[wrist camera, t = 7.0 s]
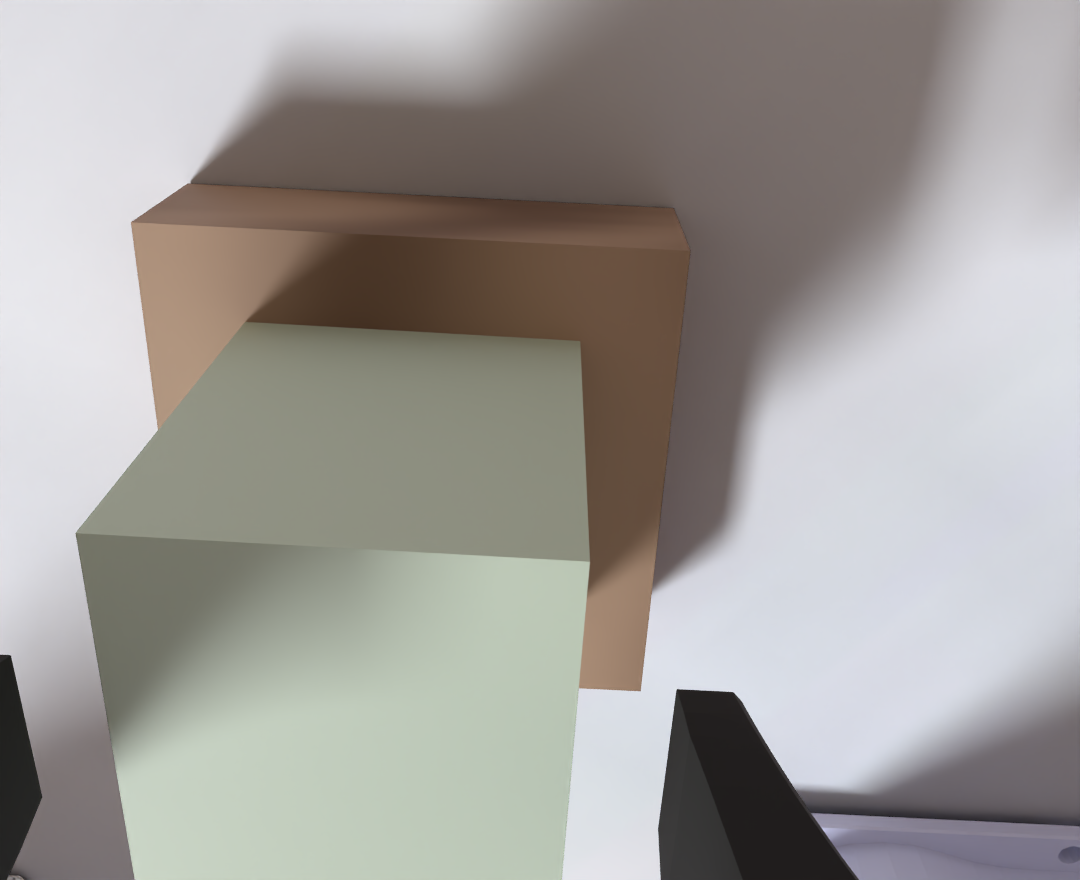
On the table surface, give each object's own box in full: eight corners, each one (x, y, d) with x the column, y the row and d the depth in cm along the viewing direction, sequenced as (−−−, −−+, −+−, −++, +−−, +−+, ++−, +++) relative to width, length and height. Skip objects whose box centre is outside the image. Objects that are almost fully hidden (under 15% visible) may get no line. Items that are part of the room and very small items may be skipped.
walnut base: (673, 208, 17) (690, 251, 15) (632, 607, 21) (640, 690, 18) (187, 183, 17) (130, 222, 15) (229, 588, 21) (189, 668, 18)
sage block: (580, 340, 15) (590, 562, 10) (559, 615, 18) (558, 915, 12) (245, 321, 15) (75, 532, 10) (266, 599, 18) (137, 894, 12)
